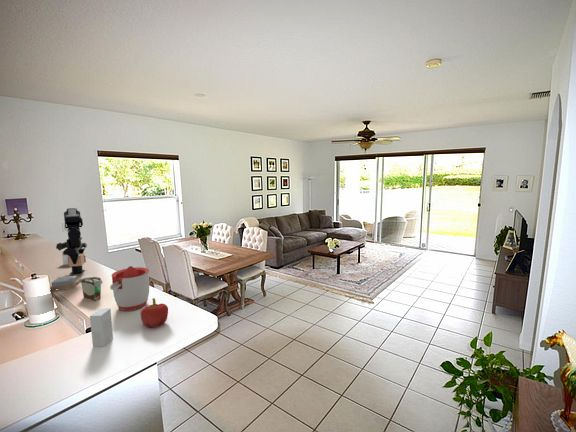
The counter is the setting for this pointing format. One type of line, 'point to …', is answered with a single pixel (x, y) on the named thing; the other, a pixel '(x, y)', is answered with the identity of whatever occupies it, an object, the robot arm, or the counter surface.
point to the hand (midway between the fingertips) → (76, 262)
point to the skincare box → (101, 327)
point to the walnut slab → (67, 285)
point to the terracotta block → (79, 261)
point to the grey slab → (64, 281)
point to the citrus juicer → (130, 287)
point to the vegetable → (154, 314)
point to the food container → (91, 288)
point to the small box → (65, 259)
